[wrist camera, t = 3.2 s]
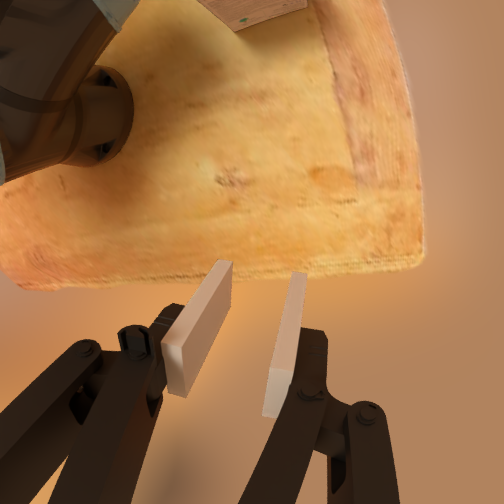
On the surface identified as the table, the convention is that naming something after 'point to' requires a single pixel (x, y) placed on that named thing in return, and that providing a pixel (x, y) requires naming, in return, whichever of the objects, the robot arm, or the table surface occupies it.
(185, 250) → the table surface
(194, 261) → the table surface
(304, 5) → the ink cartridge box
